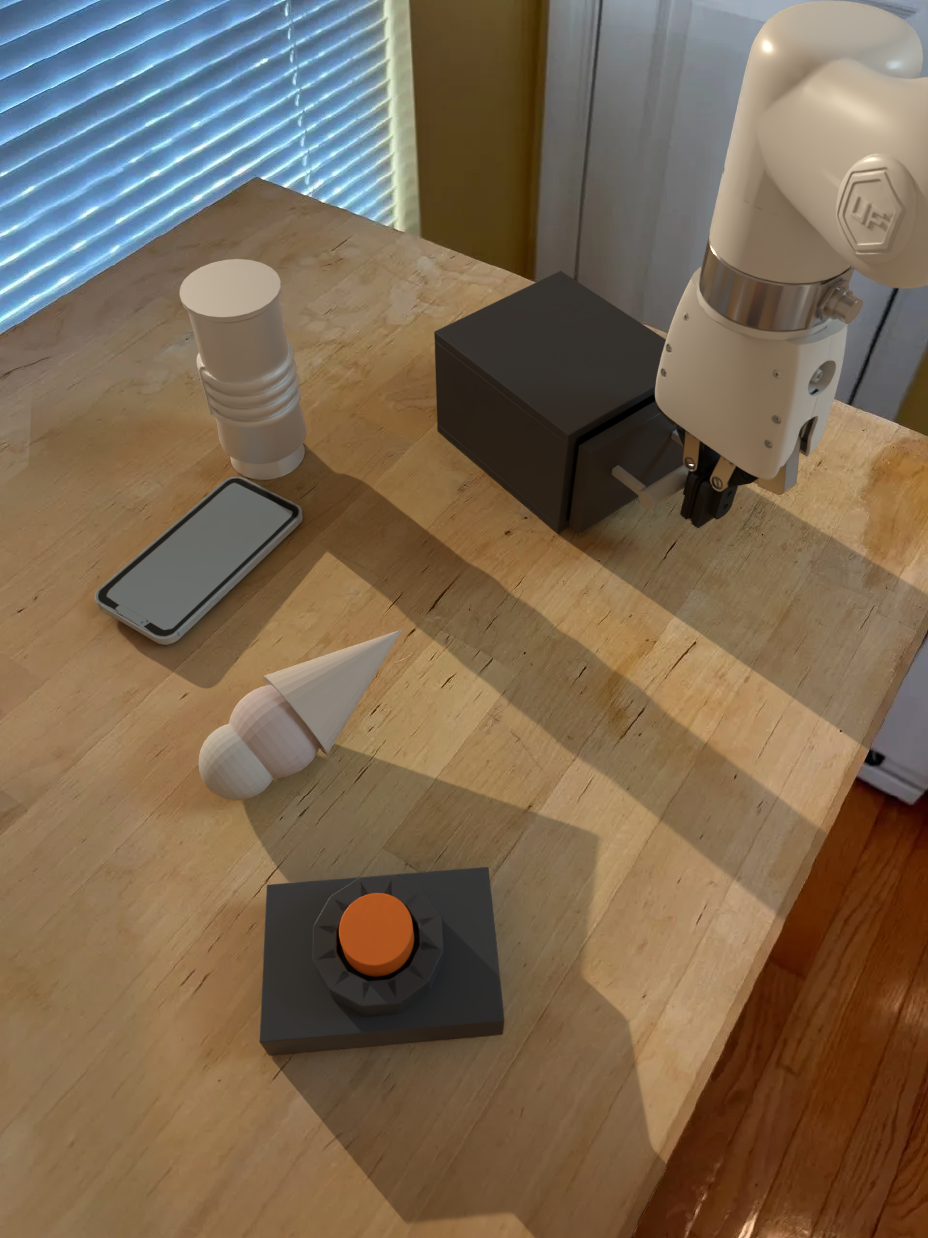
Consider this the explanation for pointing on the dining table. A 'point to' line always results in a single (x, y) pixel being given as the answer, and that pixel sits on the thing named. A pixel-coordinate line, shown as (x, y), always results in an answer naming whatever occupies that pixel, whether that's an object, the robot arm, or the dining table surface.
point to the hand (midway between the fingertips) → (703, 512)
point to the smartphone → (198, 560)
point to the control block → (385, 1005)
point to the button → (376, 934)
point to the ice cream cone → (289, 720)
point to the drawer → (625, 465)
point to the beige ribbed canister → (247, 365)
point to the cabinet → (539, 385)
